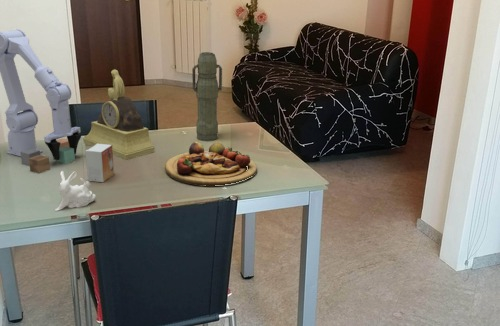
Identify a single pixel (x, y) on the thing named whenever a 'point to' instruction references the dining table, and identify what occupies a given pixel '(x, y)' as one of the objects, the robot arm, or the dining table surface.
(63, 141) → the terracotta block
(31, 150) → the charcoal block
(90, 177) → the small box
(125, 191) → the dining table surface
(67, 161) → the green block
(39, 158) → the walnut block
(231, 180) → the wooden plate with food
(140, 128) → the decorative clock
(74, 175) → the rabbit figurine
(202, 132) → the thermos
